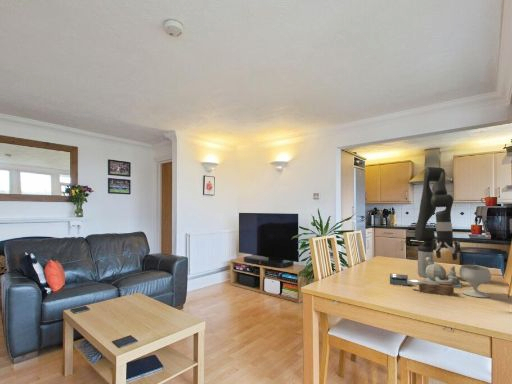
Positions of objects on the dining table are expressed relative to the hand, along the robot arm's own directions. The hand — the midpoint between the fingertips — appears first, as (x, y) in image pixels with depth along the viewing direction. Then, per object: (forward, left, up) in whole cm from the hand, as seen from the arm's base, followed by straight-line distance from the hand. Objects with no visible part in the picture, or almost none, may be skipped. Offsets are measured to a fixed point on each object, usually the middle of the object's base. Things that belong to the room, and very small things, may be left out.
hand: (446, 258), depth 154 cm
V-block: (-21, -16, -19) cm, 33 cm away
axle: (-5, -11, -15) cm, 19 cm away
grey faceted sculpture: (-18, +11, -20) cm, 29 cm away
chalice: (+3, +14, -19) cm, 24 cm away
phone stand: (-21, +33, -19) cm, 43 cm away
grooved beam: (-2, -5, -19) cm, 20 cm away
